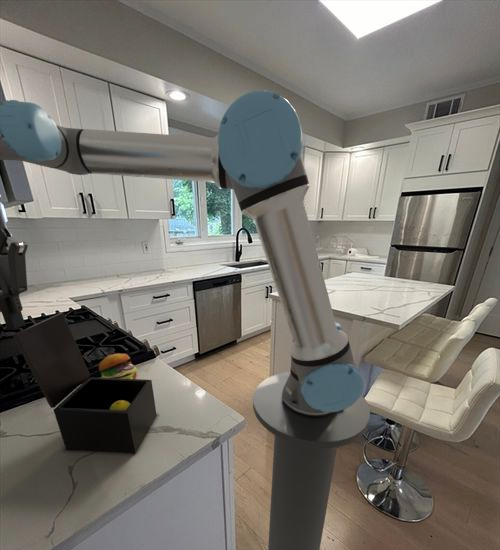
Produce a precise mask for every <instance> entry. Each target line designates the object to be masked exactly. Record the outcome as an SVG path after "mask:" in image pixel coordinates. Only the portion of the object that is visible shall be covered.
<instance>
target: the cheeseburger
mask: <svg viewBox="0 0 500 550" xmlns="http://www.w3.org/2000/svg"><path fill="white" fill-rule="evenodd" d="M130 359H131V357H130V356H129V355H128V354H127V353H113V354H110V355H107V356H105V357H104V358H102V360H101V361H100V362H99V363H98V371H99V372H100V375H101V378H117V379H137V373H138V369H137V367H136V366H135V365H134V364H132V361H129V360H130Z"/></svg>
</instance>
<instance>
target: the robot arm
mask: <svg viewBox="0 0 500 550" xmlns="http://www.w3.org/2000/svg"><path fill="white" fill-rule="evenodd" d="M303 141H304V139H303V130H302V125H301V122H300V119H299V116H298V114H297V111H296V110H295V108H294V107H293V105H292V104H291V103H290V102H289V101H288V100H287V99H286V98H285V97H283V96H281V95H280V94H279V93H276V92H274V91H271V90H266V89H257V90H252V91H249V92H247V93H244V94H242V95H240V96H238V98H236V99H235V100H234V101H233V102H232V103H231V104H230V105H229V107H228V108H227V109H226V111H225V112H224V114H223V116H222V118H221V121H220V125H219V127H218V132H217V134H216V136H214V137H211V136H210V137H207V136H193V135H191V136H190V135H178V134H164V133H149V132H148V133H147V132H136V131H135V132H134V131H119V130H103V129H90V128H85V129H83V128H74V127H73V128H72V127H65V126H61V125H59V124H57V123H55V121H54V119H53V118H52V117H51V116H50V115H49V114H48V113H47V112H46V110H45V109H44V108H43V107H42V106H40V105H39V104H36V103H34V102H28V101H20V100H15V99H9V100H8V99H7V100H4V101H3V100H1V101H0V161H17V162H18V161H19V162H24V163H28V164H33V165H37V166H41V167H45V168H50V169H55V170H58V171H61V172H66V173H68V174H71V175H76V176H87V175H92V174H93V175H108V176H121V177H136V178H146V179H147V178H149V179H163V180H173V181H174V180H175V181H176V180H177V181H189V182H203V183H214V184H215V185H216V186H217V187H218V188H219V189H221V190H232V191H233V192H234V195H235V198H236V200H237V204H238V206H239V209H240V212H241V214H242V215H244V216H245V217H247V218H249V219H251V220H252V221H253V223H254V225H255V229H256V231H257V235H258V237H259V240H260V244H261V247H262V249H263V252H264V253H263V254H264V255H265V259H266V262H267V265H268V267H269V271H270V273H271V276H272V280H273V282H274V286H275V288H276V291H277V295H278V299H279V301H280V304H281V307H282V310H283V313H284V316H285V319H286V322H287V325H288V328H289V331H290V334H291V337H292V342H291V345H290V346H289V355H290V358H291V359H290V370H289V372H290V375H289V377H288V379H287V381H286V383H285V386H284V388H283V391H282V401H283V404H284V405H285V406H286V407H287V408H288V409H289V410H290V411H292V412H293V413H295V414H298V415H300V416H304V417H308V418H323V417H327V416H330V415H332V414H333V413H335V412H337V411H341V410H344V409H346V408H348V407H350V406H352V405H353V404H354V403H355V402H356V400H357V399H359V398H360V396H361V395H362V396H363V392H364V387H365V382H364V378H363V374H362V372H361V370H360V369H359V368H358V367H357V365H356V362H355V359H354V355H353V351H352V348H351V344H350V340H349V337H348V334H347V333H346V332H344V331H343V326H342V325H341V324H340V323H339V322H336V319H335V315H334V312H333V308H332V304H331V299H330V297H329V293H328V289H327V286H326V285H327V284H326V281H325V279H324V273H323V270H322V267H321V262H320V259H319V255H318V252H317V251H318V250H317V248H316V244H315V240H314V237H313V233H312V229H311V225H310V221H309V217H308V213H307V210H306V206H305V202H304V200H305V197H306V195H307V193H308V191H309V188H310V181H309V177H308V174H307V173H308V172H307V170H306V166H305V161H304V158H303V154H302V149H303ZM1 197H2V195H0V198H1ZM8 223H9V219H8V215H7V211H6V209H5V205H4V203H2V202H1V201H0V313H1V315H2V318H3V321H4V323H5V327H6V329H7V330H17V329H19V328H21V327H24V326H26V322H25V319H24V316H23V313H22V311H23V308H24V307H23V305H22V302H21V299H20V294H22V293H24V292H27V291H28V277H27V261H26V260H27V259H26V254H27V251H28V247H29V246H28V243H27V242H26V241H19V240H17V239H16V238H14V237H13V235H12V233H11V232H10V230H9V229H8V227H7V224H8Z"/></svg>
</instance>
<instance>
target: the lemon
mask: <svg viewBox="0 0 500 550" xmlns="http://www.w3.org/2000/svg"><path fill="white" fill-rule="evenodd" d="M129 405H130V403H129V402H127V401H124V400H119V401H116V402H115V403H113V404H112V405H111V407H110V408H109V410H123V411H126V409H127V408H128V407H129Z"/></svg>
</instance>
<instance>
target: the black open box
mask: <svg viewBox="0 0 500 550" xmlns="http://www.w3.org/2000/svg"><path fill="white" fill-rule="evenodd" d="M153 387H154V386H153V381H152V379H140V378H135V379H117V378H102V377H90V376H89V377H88V378H87V379H86V380H85V381H84V382H83V383H81V384H80V385H79V386H78V387H77V388H76V389H75V390H74V391H72V392H71V393H70V394H69V395H68V396H67V397H66V398H65V399H63V400H62V401H61V402H60V403H59V404H58V405H57V406H55V407H54V408H53V413H54V416H55V420H56V422H57V426H58V429H59V432H60V434H61V438H62V441H63V444H64V448H65V450H66V451H80V452H81V451H83V452H97V453H98V452H101V453H116V454H117V453H119V454H136V453H137V451H138V450H139V448H140V446H141V444H142V443H143V441H144V439H145V438H146V435H147V434H148V432H149V430H150V428H151V427H152V425H153V423H154V421H155V420H156V417H157V416H158V414H157V407H156V402H155V401H156V400H155V395H154V388H153ZM119 400H124V401H127V402H129V403H130V405H129V407H128V408H127V409H126V411H123V410H109V408H110V407H111V405H112V404H113V403H115V402H116V401H119Z"/></svg>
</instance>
